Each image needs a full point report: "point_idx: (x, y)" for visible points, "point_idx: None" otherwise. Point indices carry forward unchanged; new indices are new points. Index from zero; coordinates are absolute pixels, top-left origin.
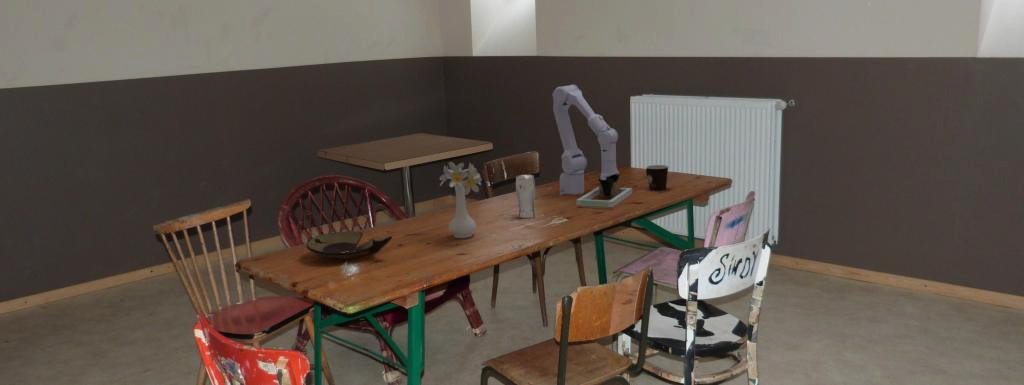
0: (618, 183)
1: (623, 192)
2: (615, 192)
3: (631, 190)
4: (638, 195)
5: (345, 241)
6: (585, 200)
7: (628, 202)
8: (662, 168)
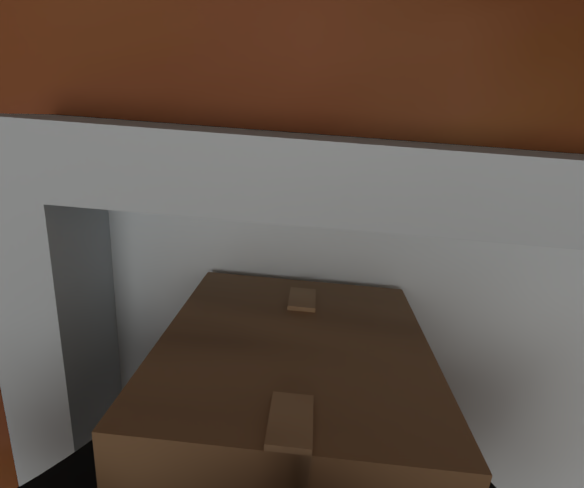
0: (241, 424)
1: (391, 198)
2: (423, 344)
3: (30, 116)
4: (5, 16)
5: None
6: None
7: (542, 54)
8: None
